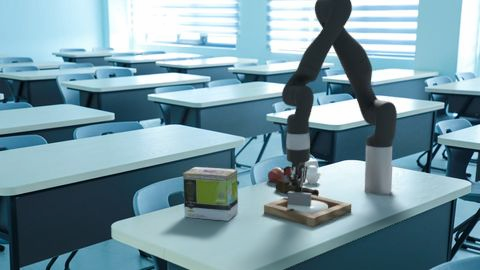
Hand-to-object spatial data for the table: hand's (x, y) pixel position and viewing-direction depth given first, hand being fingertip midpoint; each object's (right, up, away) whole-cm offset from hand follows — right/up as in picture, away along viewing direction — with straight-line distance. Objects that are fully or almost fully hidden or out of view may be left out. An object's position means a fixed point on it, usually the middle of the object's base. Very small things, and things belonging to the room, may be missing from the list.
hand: (298, 197), depth 202 cm
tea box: (-28, -5, -5) cm, 29 cm away
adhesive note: (+8, +5, +47) cm, 48 cm away
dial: (+3, -5, -3) cm, 6 cm away
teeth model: (-2, +2, +36) cm, 36 cm away
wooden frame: (+3, -5, -3) cm, 6 cm away
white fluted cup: (+8, +2, +34) cm, 35 cm away
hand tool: (0, -1, +17) cm, 17 cm away
